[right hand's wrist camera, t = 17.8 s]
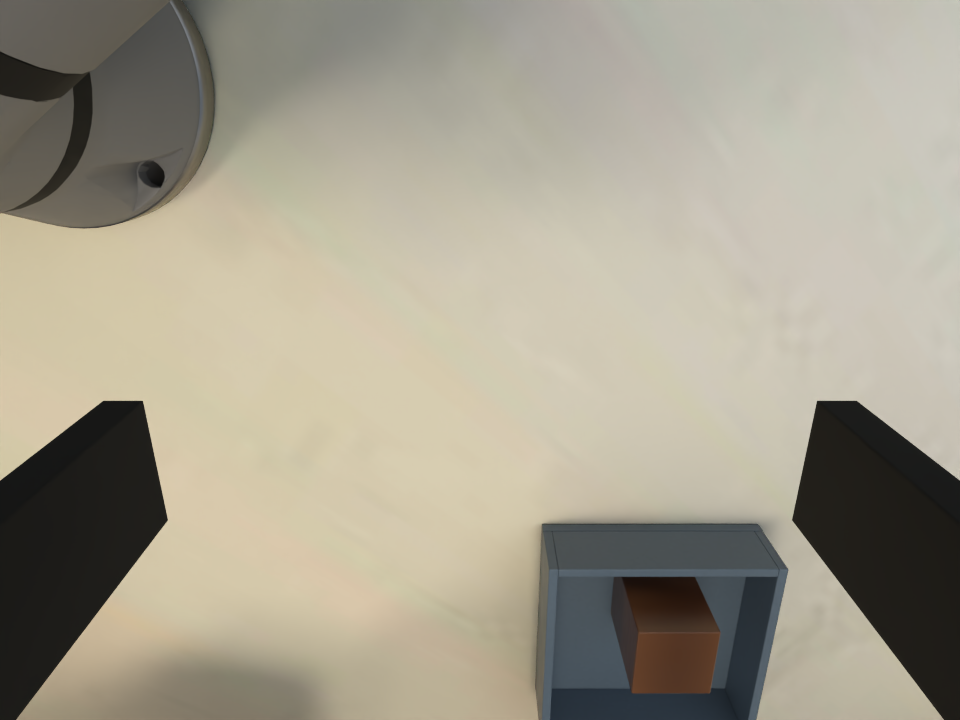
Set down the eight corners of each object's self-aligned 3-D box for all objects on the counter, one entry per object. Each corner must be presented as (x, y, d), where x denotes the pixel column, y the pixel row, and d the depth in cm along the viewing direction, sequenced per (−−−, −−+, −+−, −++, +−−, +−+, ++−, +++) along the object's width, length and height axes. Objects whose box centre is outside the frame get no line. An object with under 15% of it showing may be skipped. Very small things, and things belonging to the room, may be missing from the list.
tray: (531, 774, 54) (541, 895, 46) (542, 524, 45) (556, 618, 37) (711, 773, 54) (753, 895, 46) (758, 524, 45) (821, 618, 37)
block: (610, 612, 47) (631, 694, 40) (615, 557, 45) (638, 632, 39) (678, 612, 47) (710, 693, 40) (686, 557, 45) (721, 632, 39)
